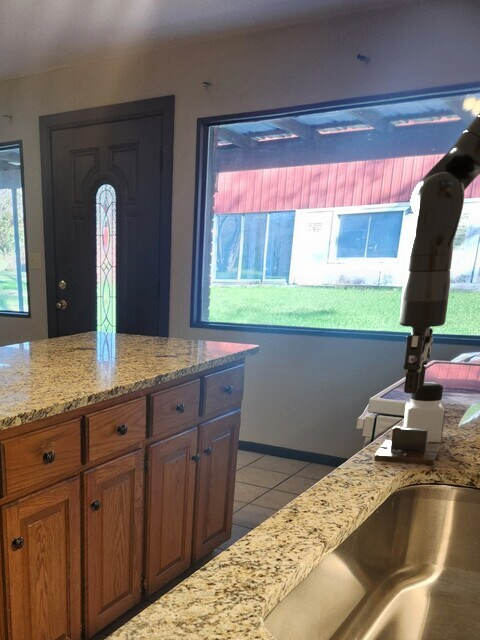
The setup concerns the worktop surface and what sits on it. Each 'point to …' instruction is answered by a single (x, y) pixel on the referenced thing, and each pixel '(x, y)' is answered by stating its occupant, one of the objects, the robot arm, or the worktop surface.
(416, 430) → the dark grey upright block
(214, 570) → the worktop surface
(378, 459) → the panel
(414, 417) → the medicine bottle
